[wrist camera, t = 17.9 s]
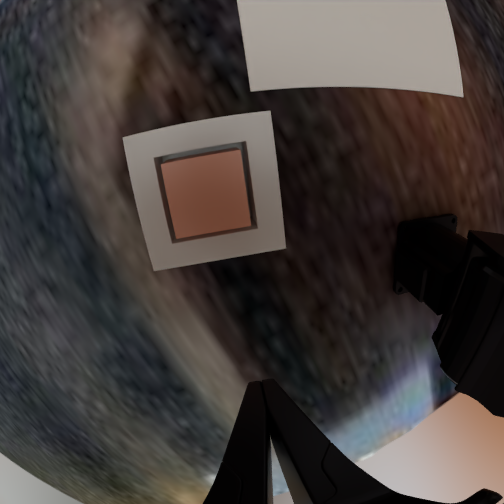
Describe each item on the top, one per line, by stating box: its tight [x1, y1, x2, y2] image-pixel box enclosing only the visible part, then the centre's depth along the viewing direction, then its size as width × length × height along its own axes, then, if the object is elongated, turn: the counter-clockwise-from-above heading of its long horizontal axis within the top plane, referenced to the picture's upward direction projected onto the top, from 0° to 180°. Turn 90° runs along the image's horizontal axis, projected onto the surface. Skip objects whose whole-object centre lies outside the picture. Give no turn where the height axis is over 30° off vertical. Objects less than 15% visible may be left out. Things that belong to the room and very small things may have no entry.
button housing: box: [123, 111, 286, 271], centre depth 18 cm, size 8×8×3 cm
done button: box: [161, 147, 251, 239], centre depth 17 cm, size 4×4×2 cm
